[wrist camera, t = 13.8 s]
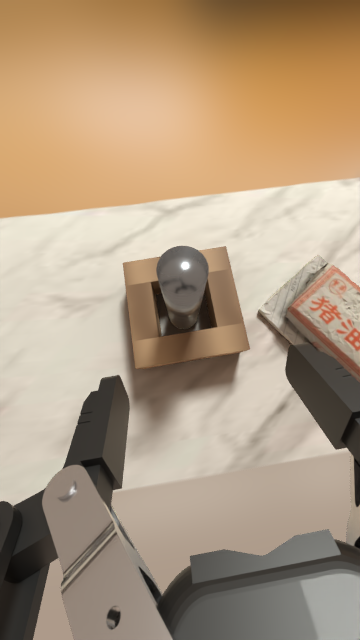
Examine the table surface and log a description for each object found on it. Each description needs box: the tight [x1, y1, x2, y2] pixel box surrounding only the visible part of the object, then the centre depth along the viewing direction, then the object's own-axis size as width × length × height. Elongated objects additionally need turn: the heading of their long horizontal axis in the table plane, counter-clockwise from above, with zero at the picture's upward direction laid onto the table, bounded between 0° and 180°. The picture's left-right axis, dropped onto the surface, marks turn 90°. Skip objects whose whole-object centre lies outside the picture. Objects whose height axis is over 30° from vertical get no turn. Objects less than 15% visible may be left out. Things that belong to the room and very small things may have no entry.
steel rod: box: [156, 246, 209, 329], centre depth 20 cm, size 3×3×12 cm
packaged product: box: [259, 255, 360, 382], centre depth 23 cm, size 18×5×10 cm
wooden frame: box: [123, 246, 250, 369], centre depth 24 cm, size 11×11×4 cm
